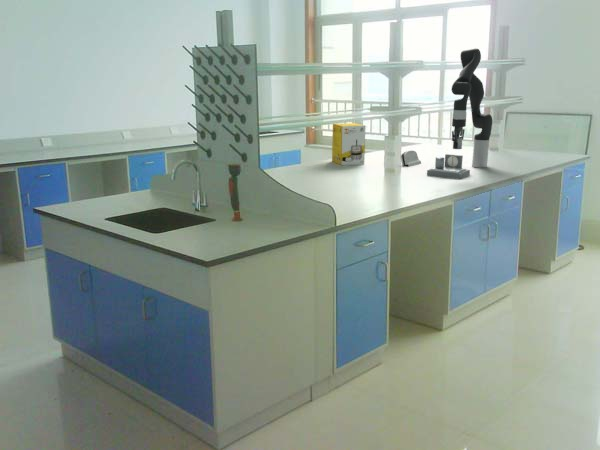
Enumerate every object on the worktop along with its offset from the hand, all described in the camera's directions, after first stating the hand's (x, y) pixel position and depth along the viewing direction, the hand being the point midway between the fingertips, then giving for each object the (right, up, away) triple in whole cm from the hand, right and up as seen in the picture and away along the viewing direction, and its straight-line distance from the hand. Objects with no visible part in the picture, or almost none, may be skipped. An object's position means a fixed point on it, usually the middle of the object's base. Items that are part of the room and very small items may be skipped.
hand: (457, 147), depth 346 cm
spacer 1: (-8, -11, +9) cm, 16 cm away
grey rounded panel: (-19, -5, +46) cm, 50 cm away
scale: (-3, -15, +9) cm, 18 cm away
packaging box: (-59, -3, +51) cm, 78 cm away
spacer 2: (0, 0, 0) cm, 0 cm away
